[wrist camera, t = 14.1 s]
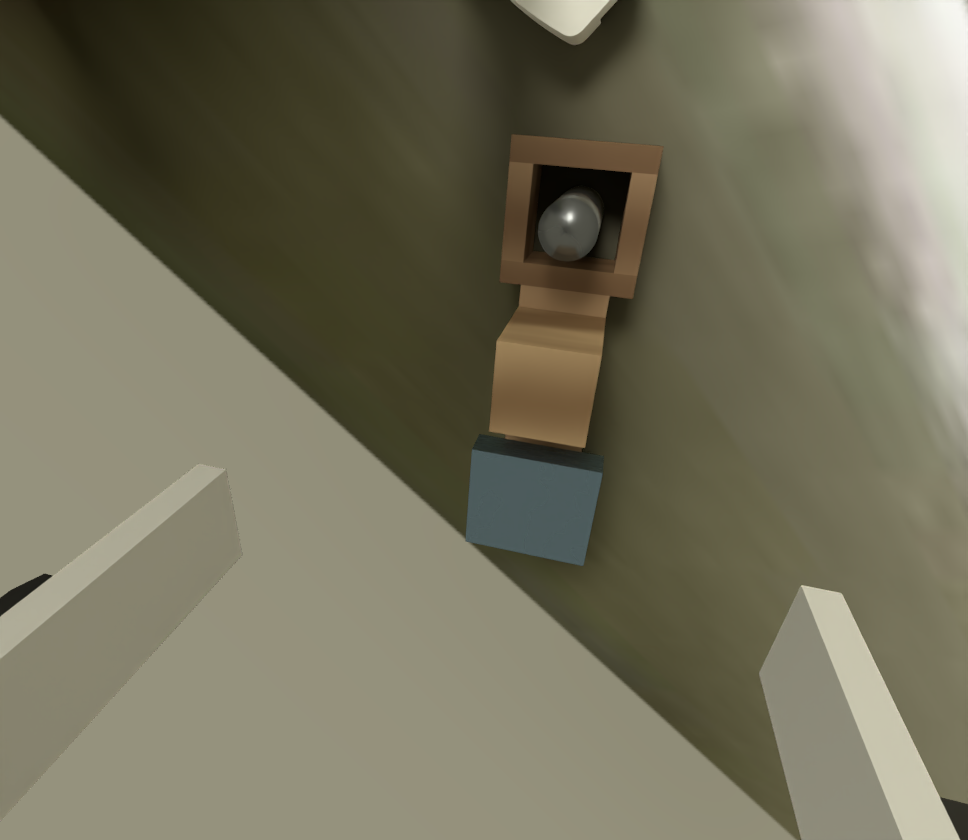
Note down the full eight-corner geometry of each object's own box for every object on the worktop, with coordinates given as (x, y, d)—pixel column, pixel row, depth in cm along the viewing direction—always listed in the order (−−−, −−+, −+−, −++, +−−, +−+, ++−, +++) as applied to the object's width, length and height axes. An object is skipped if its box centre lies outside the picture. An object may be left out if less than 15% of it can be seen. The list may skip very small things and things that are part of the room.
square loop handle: (523, 135, 25) (484, 132, 18) (659, 145, 24) (673, 148, 17) (496, 424, 32) (461, 503, 25) (600, 442, 31) (593, 529, 24)
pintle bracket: (519, 179, 25) (490, 190, 20) (650, 192, 24) (658, 207, 19) (492, 473, 33) (465, 541, 28) (590, 492, 32) (583, 566, 27)
